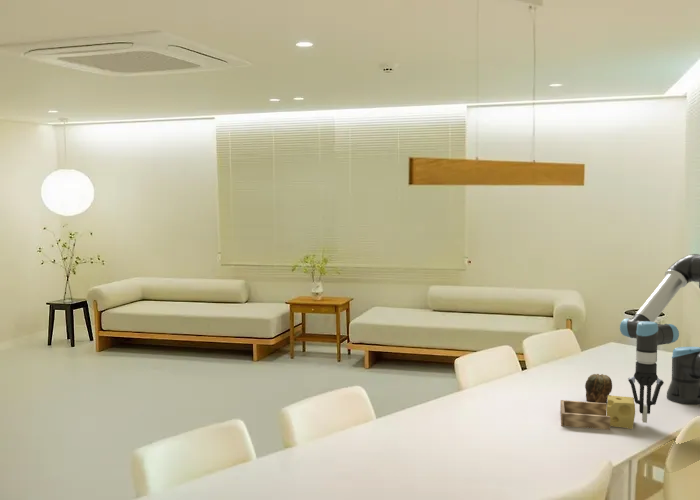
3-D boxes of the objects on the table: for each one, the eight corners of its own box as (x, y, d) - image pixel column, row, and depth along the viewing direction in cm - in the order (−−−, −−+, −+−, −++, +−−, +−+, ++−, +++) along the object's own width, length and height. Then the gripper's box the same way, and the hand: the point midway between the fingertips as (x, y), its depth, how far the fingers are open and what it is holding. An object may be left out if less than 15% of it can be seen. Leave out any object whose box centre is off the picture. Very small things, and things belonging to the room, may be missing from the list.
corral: (606, 415, 285) (606, 403, 285) (609, 429, 268) (610, 417, 267) (560, 411, 290) (560, 399, 290) (561, 425, 273) (561, 413, 272)
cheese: (605, 426, 272) (606, 401, 271) (606, 418, 282) (607, 393, 281) (634, 429, 268) (635, 404, 267) (634, 421, 278) (635, 396, 277)
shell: (607, 406, 297) (608, 378, 296) (581, 402, 304) (582, 374, 303) (615, 400, 306) (615, 373, 305) (589, 396, 312) (590, 369, 312)
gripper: (662, 360, 273) (660, 419, 275) (627, 358, 276) (625, 417, 278) (666, 365, 266) (664, 425, 267) (629, 363, 269) (627, 423, 271)
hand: (644, 421), depth 273 cm, fingers closed
